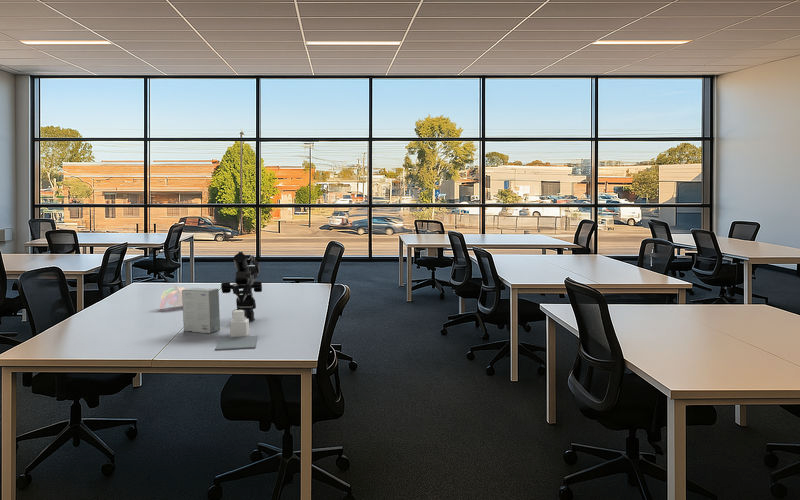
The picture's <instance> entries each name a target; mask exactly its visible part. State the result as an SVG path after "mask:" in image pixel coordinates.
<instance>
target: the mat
mask: <svg viewBox="0 0 800 500" xmlns="http://www.w3.org/2000/svg"><path fill="white" fill-rule="evenodd" d="M258 339H259V338H258V335H248V336H239V337H230V336H222V337H219V340H218V342H217V344H216V347H215V348H214V351H227V350H230V351H231V350H246V349H256V346H257V342H258Z"/></svg>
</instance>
